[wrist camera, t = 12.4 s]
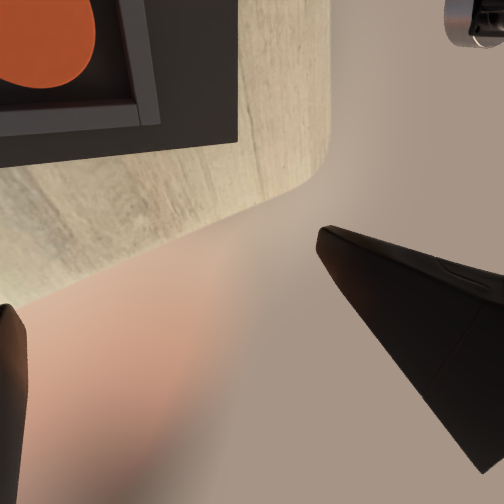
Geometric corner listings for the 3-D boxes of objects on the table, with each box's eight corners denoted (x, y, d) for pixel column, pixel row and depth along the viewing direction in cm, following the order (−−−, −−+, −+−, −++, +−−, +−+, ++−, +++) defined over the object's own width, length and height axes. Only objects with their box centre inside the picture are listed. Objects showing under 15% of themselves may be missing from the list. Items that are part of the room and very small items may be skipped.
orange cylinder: (73, -49, 12) (73, -79, 8) (100, 69, 14) (109, 86, 11) (-56, -63, 11) (-124, -107, 7) (-3, 71, 13) (-32, 91, 9)
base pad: (229, -157, 13) (254, -185, 11) (232, 138, 20) (247, 149, 18) (-279, -289, 8) (-385, -380, 6) (-35, 165, 15) (-50, 185, 13)
